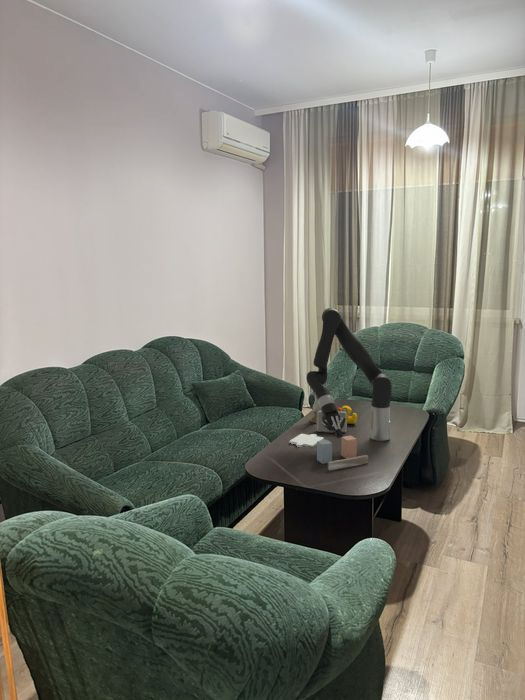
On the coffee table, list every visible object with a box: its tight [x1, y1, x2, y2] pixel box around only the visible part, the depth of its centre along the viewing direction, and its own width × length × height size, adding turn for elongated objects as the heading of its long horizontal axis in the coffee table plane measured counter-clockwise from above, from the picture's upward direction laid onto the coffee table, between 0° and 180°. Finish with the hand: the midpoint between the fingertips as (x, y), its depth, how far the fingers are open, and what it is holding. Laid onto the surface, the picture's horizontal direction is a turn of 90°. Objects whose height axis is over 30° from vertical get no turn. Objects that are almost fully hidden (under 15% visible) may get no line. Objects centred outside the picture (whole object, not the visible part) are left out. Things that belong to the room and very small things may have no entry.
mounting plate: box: [288, 433, 325, 448], centre depth 272 cm, size 18×13×2 cm
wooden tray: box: [327, 454, 369, 472], centre depth 244 cm, size 14×20×4 cm
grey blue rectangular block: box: [316, 439, 333, 465], centre depth 244 cm, size 5×5×9 cm
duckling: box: [337, 405, 358, 425], centre depth 300 cm, size 11×5×10 cm, turn 61°
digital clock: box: [316, 411, 348, 433], centre depth 288 cm, size 16×9×11 cm, turn 71°
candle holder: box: [309, 393, 321, 424], centre depth 304 cm, size 9×9×20 cm
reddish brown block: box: [340, 435, 358, 459], centre depth 249 cm, size 5×5×9 cm
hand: (340, 437), depth 255 cm, fingers closed
